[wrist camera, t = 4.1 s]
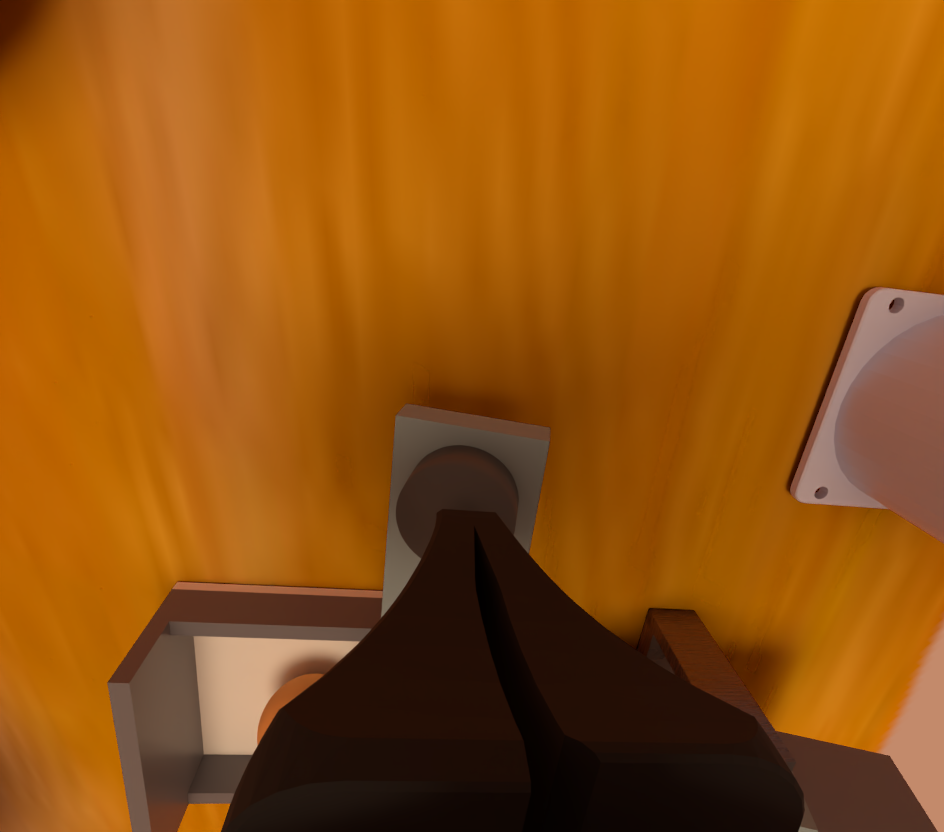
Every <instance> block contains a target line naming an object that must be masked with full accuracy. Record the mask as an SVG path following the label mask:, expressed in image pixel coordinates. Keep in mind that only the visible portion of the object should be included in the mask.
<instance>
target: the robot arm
mask: <svg viewBox="0 0 944 832" xmlns="http://www.w3.org/2000/svg"><path fill="white" fill-rule="evenodd" d="M892 300H894V305H893V307H892V308H891V309H890V310H889V304H890V303H891V301H892ZM818 488H820V489H819V491H818V492H816V493H815V491H816V490H817V489H818ZM790 493H791V495H792V496H793V497H794V498H795V499H796V500H798V501H799V502H802V503H810V504H825V505H839V506H853V507H868V508H882V509H890V510H892V511H893V512H895V513H896V514H898V515H900V516H901V517H903V518H904V519H906V520H907V521H909V522H911V523H912V524H914V525H915V526H917V527H919V528H920V529H922V530H923V531H925V532H926V533H928V534H930V535H931V536H933V537H934V538H936V539H937V540H939V541H941V542H942V543H944V295H940V294H932V293H924V292H916V291H908V290H900V289H892V288H884V287H875V288H873V289H871V290H869V291H868V292H867V293H866V294H864V296H863V298H862V299H861V301H860V304H859V307H858V309H857V312H856V315H855V317H854V320H853V323H852V325H851V328H850V331H849V333H848V336H847V339H846V341H845V344H844V347H843V349H842V352H841V355H840V357H839V360H838V362H837V365H836V368H835V370H834V373H833V376H832V378H831V381H830V384H829V386H828V389H827V392H826V394H825V397H824V400H823V402H822V405H821V408H820V410H819V413H818V416H817V418H816V421H815V424H814V426H813V429H812V431H811V434H810V437H809V439H808V442H807V445H806V447H805V450H804V453H803V455H802V458H801V461H800V463H799V466H798V469H797V471H796V474H795V477H794V479H793V482H792V485H791V488H790ZM804 812H805V807H804V793H803V791H802V789H801V787H800V786H799V784H798V782H797V780H796V778H795V777H794V775H793V773H792V772H791V770H790V769H789V767H788V766H787V764H786V762H785V761H784V759H783V758H782V756H781V755H780V753H779V752H778V750H777V748H776V747H775V745H774V744H773V742H772V741H771V739H770V738H769V736H768V735H767V734H766V732H765V731H764V729H763V728H762V726H761V725H760V724H759V722H758V721H757V720H756V718H755V717H754V716H752V715H750V714H748V713H746V712H744V711H742V710H740V709H738V708H736V707H734V706H732V705H730V704H728V703H726V702H724V701H722V700H720V699H719V698H717V697H715V696H713V695H711V694H709V693H707V692H705V691H703V690H701V689H699V688H697V687H695V686H693V685H692V684H690V683H688V682H686V681H685V680H683V679H681V678H680V677H678V676H676V675H675V674H673V673H671V672H670V671H668V670H666V669H664V668H663V667H661V666H659V665H658V664H656V663H655V662H653V661H652V660H650V659H649V658H647V657H646V656H644V655H642V654H641V653H639V652H638V651H636V650H635V649H634V648H632V647H631V646H629V645H628V644H627V643H625V642H624V641H622V640H621V639H620V638H618V637H617V636H615V635H614V634H613V633H611V632H610V631H609V630H607V629H606V628H605V627H604V626H602V625H601V624H600V623H598V622H597V621H596V620H595V619H594V618H592V617H591V616H590V615H589V614H588V613H587V612H585V611H584V610H583V609H582V608H581V607H580V606H578V605H577V604H576V603H575V602H574V601H573V600H572V599H571V598H570V597H568V596H567V595H566V594H565V593H564V592H563V591H562V590H561V589H560V588H559V587H558V586H557V585H556V584H555V583H554V582H553V581H552V580H551V579H550V578H549V577H548V576H547V574H546V573H545V572H544V571H543V570H542V569H541V568H540V567H539V566H538V564H537V563H536V562H535V561H534V560H533V559H532V557H531V556H530V555H529V554H528V553H527V551H526V550H525V549H524V548H523V547H522V545H521V544H520V543H519V542H518V540H517V539H516V538H515V536H514V535H513V534H512V533H511V531H510V530H509V529H508V527H507V526H506V525H505V523H504V522H503V521H502V519H501V518H500V517H499V516H498V514H497V513H496V512H483V511H468V510H453V509H441V510H440V511H439V512H437V514H436V523H435V528H434V531H433V534H432V536H431V539H430V542H429V544H428V546H427V548H426V550H425V552H424V554H423V556H422V558H421V560H420V562H419V564H418V566H417V567H416V569H415V571H414V572H413V574H412V576H411V577H410V579H409V581H408V582H407V584H406V585H405V587H404V588H403V590H402V591H401V593H400V594H399V596H398V597H397V598H396V600H395V601H394V603H393V604H392V605H391V606H390V608H389V609H388V610H387V612H386V613H385V614H384V615H383V616H382V618H381V619H380V620H379V621H378V622H377V623H376V625H375V626H374V627H373V628H372V629H371V630H370V632H369V633H368V634H367V635H366V636H365V637H364V638H363V639H362V640H361V641H360V642H359V643H358V644H357V645H356V646H355V647H354V648H353V649H352V650H351V651H350V652H349V653H348V654H346V655H345V656H344V657H343V658H342V659H341V660H340V661H339V662H338V663H337V664H336V665H335V666H334V667H333V668H331V669H330V670H329V671H328V672H327V673H326V674H325V675H323V676H322V677H321V678H320V679H319V680H317V681H316V682H315V683H313V684H312V685H311V686H309V687H308V688H307V689H306V690H304V691H303V692H302V693H300V694H299V695H298V696H296V697H295V698H294V699H292V700H291V701H290V702H289V703H287V704H286V705H285V706H283V707H282V708H280V709H279V710H278V712H277V713H276V715H275V717H274V718H273V720H272V722H271V723H270V725H269V727H268V728H267V730H266V732H265V733H264V735H263V737H262V738H261V740H260V742H259V744H258V746H257V748H256V749H255V751H254V753H253V755H252V757H251V759H250V761H249V763H248V765H247V767H246V769H245V771H244V773H243V775H242V778H241V780H240V782H239V784H238V786H237V789H236V791H235V793H234V796H233V799H232V801H231V804H230V807H229V810H228V813H227V816H226V819H225V822H224V825H223V828H222V830H221V832H798V831H799V828H800V825H801V822H802V819H803V816H804Z"/></svg>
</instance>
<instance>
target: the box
mask: <svg viewBox="0 0 944 832" xmlns="http://www.w3.org/2000/svg"><path fill="white" fill-rule="evenodd" d="M382 599H383V591H373V590H350V589H327V588H305V587H282V586H260V585H237V584H215V583H192V582H177V583H176V584H175V586H174V587H173V589H172V590H171V592H170V593H169V594H168V596H167V597H166V599H165V600H164V602H163V603H162V605H161V606H160V607H159V609H158V610H157V612H156V613H155V615H154V616H153V618H152V619H151V620H150V622H149V623H148V625H147V626H146V628H145V629H144V631H143V632H142V634H141V635H140V636H139V638H138V639H137V641H136V642H135V644H134V645H133V647H132V648H131V649H130V651H129V652H128V654H127V655H126V657H125V658H124V660H123V661H122V662H121V664H120V665H119V667H118V668H117V670H116V671H115V673H114V674H113V676H112V677H111V678H110V680H109V681H108V689H109V695H110V701H111V707H112V713H113V719H114V725H115V731H116V737H117V743H118V749H119V755H120V761H121V767H122V773H123V779H124V785H125V791H126V796H127V802H128V808H129V814H130V820H131V826H132V832H177V831H178V828H179V826H180V823H181V821H182V818H183V816H184V813H185V811H186V809H187V806H188V804H200V803H231V801H232V799H233V796H234V793H235V791H236V789H237V786H238V784H239V782H240V780H241V778H242V775H243V773H244V771H245V769H246V767H247V765H248V763H249V761H250V759H251V757H252V755H253V753H254V751H255V749H256V748H257V746H258V745H257V731H258V725H259V721H260V718H261V715H262V712H263V710H264V708H265V706H266V704H267V703H268V701H269V700H270V698H271V697H272V696H273V695H274V693H275V692H276V691H277V690H278V689H279V688H281V687H282V686H283V685H284V684H286V683H287V682H289V681H290V680H292V679H294V678H296V677H299V676H302V675H306V674H326V673H327V672H328V671H329V670H330V669H331V668H333V667H334V666H335V665H336V664H337V663H338V662H339V661H340V660H341V659H342V658H343V657H344V656H345V655H346V654H348V653H349V652H350V651H351V650H352V649H353V648H354V647H355V646H356V645H357V644H358V643H359V642H360V641H361V640H362V639H363V638H364V637H365V636H366V635H367V634H368V633H369V632H370V630H371V629H372V628H373V627H374V626H375V625H376V623H377V622H378V621H379V620H380V619H381V612H382Z"/></svg>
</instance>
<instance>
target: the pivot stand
mask: <svg viewBox="0 0 944 832" xmlns="http://www.w3.org/2000/svg"><path fill="white" fill-rule="evenodd" d="M637 651H638V652H639V653H641V654H642V655H644V656H646V657H647V658H649V659H650V660H652V661H653V662H655V663H656V664H658V665H659V666H661V667H663V668H664V669H666V670H668V671H670V672H671V673H673V674H675V675H676V676H678V677H680V678H681V679H683V680H685V681H686V682H688V683H690V684H692V685H693V686H695V687H697V688H699V689H701V690H703V691H705V692H707V693H709V694H711V695H713V696H715V697H717V698H719V699H720V700H722V701H724V702H726V703H728V704H730V705H732V706H734V707H736V708H738V709H740V710H742V711H744V712H746V713H748V714H750V715H752V716H754V717H755V718H756V720H757V721H758V722H759V724H760V725H761V726H762V728H763V729H764V731H765V732H766V734H767V735H768V736H769V738H770V739H771V741H772V742H773V744H774V745H775V747H776V748H777V750H778V752H779V753H780V755H781V756H782V758H783V759H784V761H785V762H786V764H787V766H788V767H789V769H790V770H791V772H792V770H793V768H794V766H795V764H796V761H795V759H794V758H793V756H792V755H791V753H790V752H789V750H788V749H787V747H786V746H785V744H784V743H783V741H782V740H781V738H780V737H779V735H778V734H777V732H776V731H775V729H774V728H773V727H772V725H771V724H770V722H769V721H768V719H767V718H766V716H765V715H764V713H763V712H762V710H761V709H760V707H759V706H758V704H757V703H756V701H755V700H754V698H753V697H752V695H751V694H750V692H749V691H748V690H747V688H746V687H745V685H744V684H743V682H742V681H741V679H740V678H739V676H738V675H737V673H736V672H735V670H734V669H733V667H732V666H731V664H730V663H729V661H728V660H727V658H726V657H725V655H724V654H723V652H722V651H721V650H720V648H719V647H718V645H717V644H716V642H715V641H714V639H713V638H712V636H711V635H710V633H709V632H708V630H707V629H706V627H705V626H704V624H703V623H702V621H701V620H700V618H699V617H698V615H697V614H696V613H695V611H693V610H670V609H649V610H648V614H647V617H646V620H645V624H644V627H643V631H642V634H641V637H640V641H639V644H638V647H637Z"/></svg>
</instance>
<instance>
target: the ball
mask: <svg viewBox="0 0 944 832" xmlns="http://www.w3.org/2000/svg"><path fill="white" fill-rule="evenodd" d="M323 675H325V674H306V675H302V676H299V677H296V678H294V679H292V680H290V681H289V682H287V683H286V684H284V685H283V686H282V687H281V688H279V689H278V690H277V691H276V692H275V693H274V695H273V696H272V697H271V698H270V700H269V701H268V703H267V704H266V706H265V708H264V710H263V712H262V715H261V718H260V721H259V725H258V731H257V745H258V744H259V742H260V740H261V738H262V737H263V735H264V733H265V732H266V730H267V728H268V727H269V725H270V723H271V722H272V720H273V718H274V717H275V715H276V713H277V712H278V710H279V709H280V708H282V707H283V706H285V705H286V704H287V703H289V702H290V701H291V700H292V699H294V698H295V697H296V696H298V695H299V694H300V693H302V692H303V691H304V690H306V689H307V688H308V687H309V686H311V685H312V684H313V683H315V682H316V681H317V680H319V679H320V678H321V677H322V676H323Z"/></svg>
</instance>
